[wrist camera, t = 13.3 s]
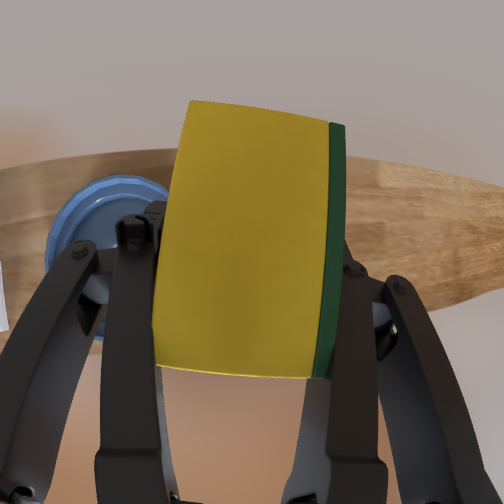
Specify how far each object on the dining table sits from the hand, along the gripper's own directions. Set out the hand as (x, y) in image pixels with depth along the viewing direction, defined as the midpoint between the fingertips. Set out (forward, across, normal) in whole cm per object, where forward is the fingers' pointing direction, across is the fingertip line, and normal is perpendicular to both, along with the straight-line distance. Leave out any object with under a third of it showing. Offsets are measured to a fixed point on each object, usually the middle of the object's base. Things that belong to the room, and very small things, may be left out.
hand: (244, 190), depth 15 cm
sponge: (-1, 0, -5) cm, 5 cm away
